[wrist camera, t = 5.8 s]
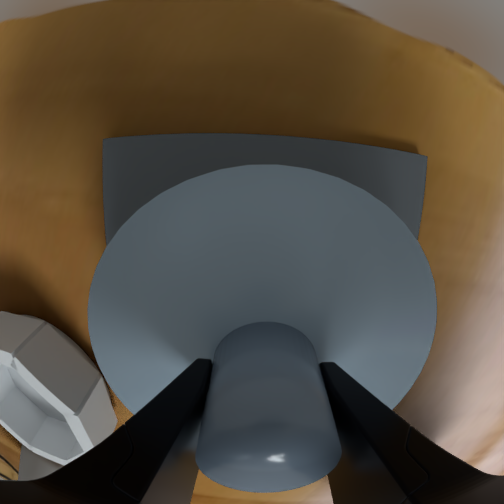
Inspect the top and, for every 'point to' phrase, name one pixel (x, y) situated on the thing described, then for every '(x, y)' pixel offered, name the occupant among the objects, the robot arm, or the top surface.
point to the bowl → (50, 390)
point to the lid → (263, 312)
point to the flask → (35, 465)
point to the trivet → (253, 152)
